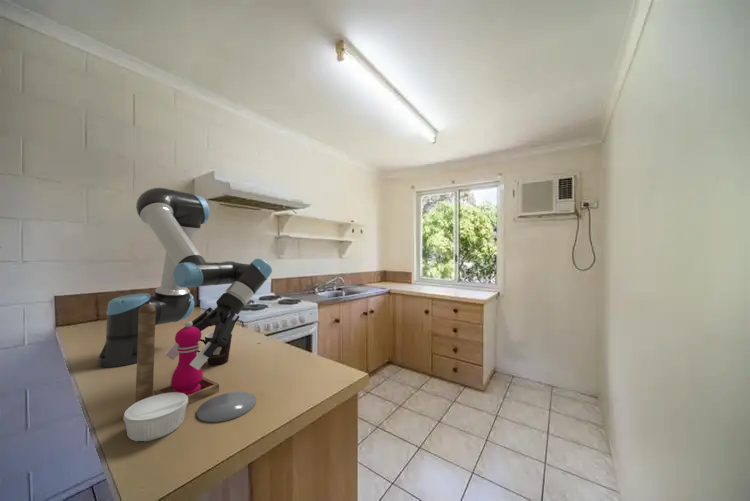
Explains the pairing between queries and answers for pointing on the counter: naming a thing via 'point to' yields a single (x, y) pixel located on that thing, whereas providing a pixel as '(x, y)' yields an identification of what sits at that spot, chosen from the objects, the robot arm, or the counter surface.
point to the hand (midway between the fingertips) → (180, 362)
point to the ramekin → (155, 416)
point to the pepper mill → (187, 361)
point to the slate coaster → (226, 407)
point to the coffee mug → (218, 351)
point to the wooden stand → (147, 362)
